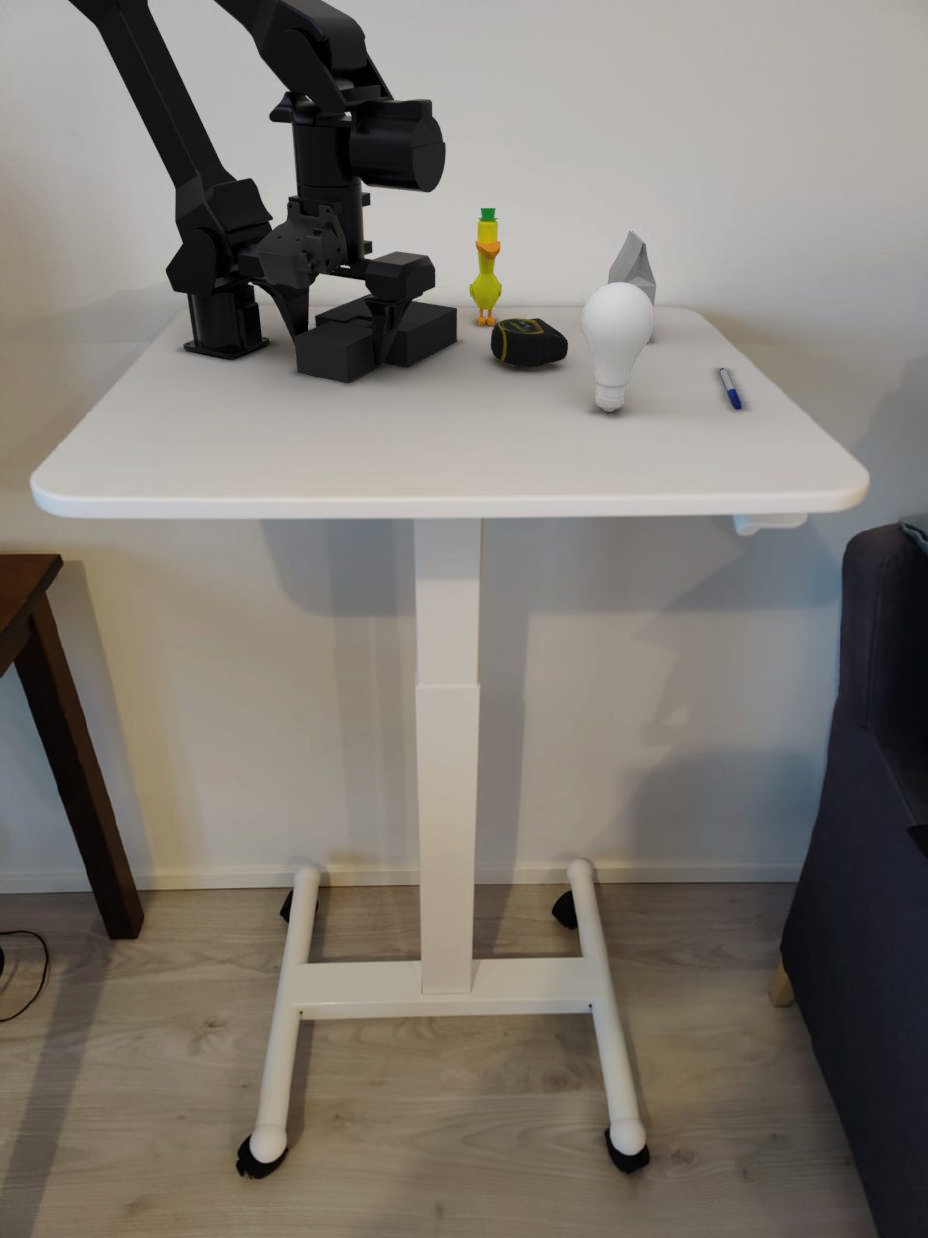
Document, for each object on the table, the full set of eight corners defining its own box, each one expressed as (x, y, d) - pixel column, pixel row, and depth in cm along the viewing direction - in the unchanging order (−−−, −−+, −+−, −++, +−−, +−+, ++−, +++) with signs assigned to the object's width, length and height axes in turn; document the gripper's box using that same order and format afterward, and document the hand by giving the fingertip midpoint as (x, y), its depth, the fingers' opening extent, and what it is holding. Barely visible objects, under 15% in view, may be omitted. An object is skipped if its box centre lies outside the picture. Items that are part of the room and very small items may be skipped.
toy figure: (505, 331, 101) (509, 214, 95) (473, 332, 101) (474, 214, 94) (497, 314, 107) (501, 203, 100) (467, 315, 107) (468, 203, 100)
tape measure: (569, 370, 91) (572, 332, 89) (503, 376, 89) (505, 337, 87) (543, 349, 96) (545, 313, 94) (481, 355, 95) (482, 318, 93)
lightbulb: (648, 404, 84) (664, 278, 77) (636, 427, 79) (652, 295, 73) (582, 395, 85) (593, 271, 79) (566, 418, 80) (576, 288, 74)
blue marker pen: (744, 411, 83) (746, 400, 82) (734, 411, 83) (735, 400, 82) (724, 373, 92) (725, 363, 91) (715, 373, 92) (716, 363, 91)
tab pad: (296, 372, 89) (293, 336, 88) (344, 350, 95) (342, 315, 93) (348, 382, 87) (346, 345, 85) (393, 359, 93) (392, 324, 91)
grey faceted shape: (615, 342, 99) (625, 243, 93) (603, 324, 104) (613, 230, 99) (649, 342, 99) (661, 243, 93) (636, 324, 105) (647, 230, 99)
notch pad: (317, 349, 95) (314, 315, 93) (370, 325, 103) (369, 293, 101) (408, 367, 91) (407, 331, 89) (456, 341, 98) (457, 307, 96)
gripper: (184, 185, 79) (209, 364, 88) (366, 206, 72) (375, 400, 80) (267, 169, 87) (282, 335, 96) (438, 187, 80) (438, 364, 88)
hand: (339, 357), depth 90 cm, fingers open, 9 cm apart
